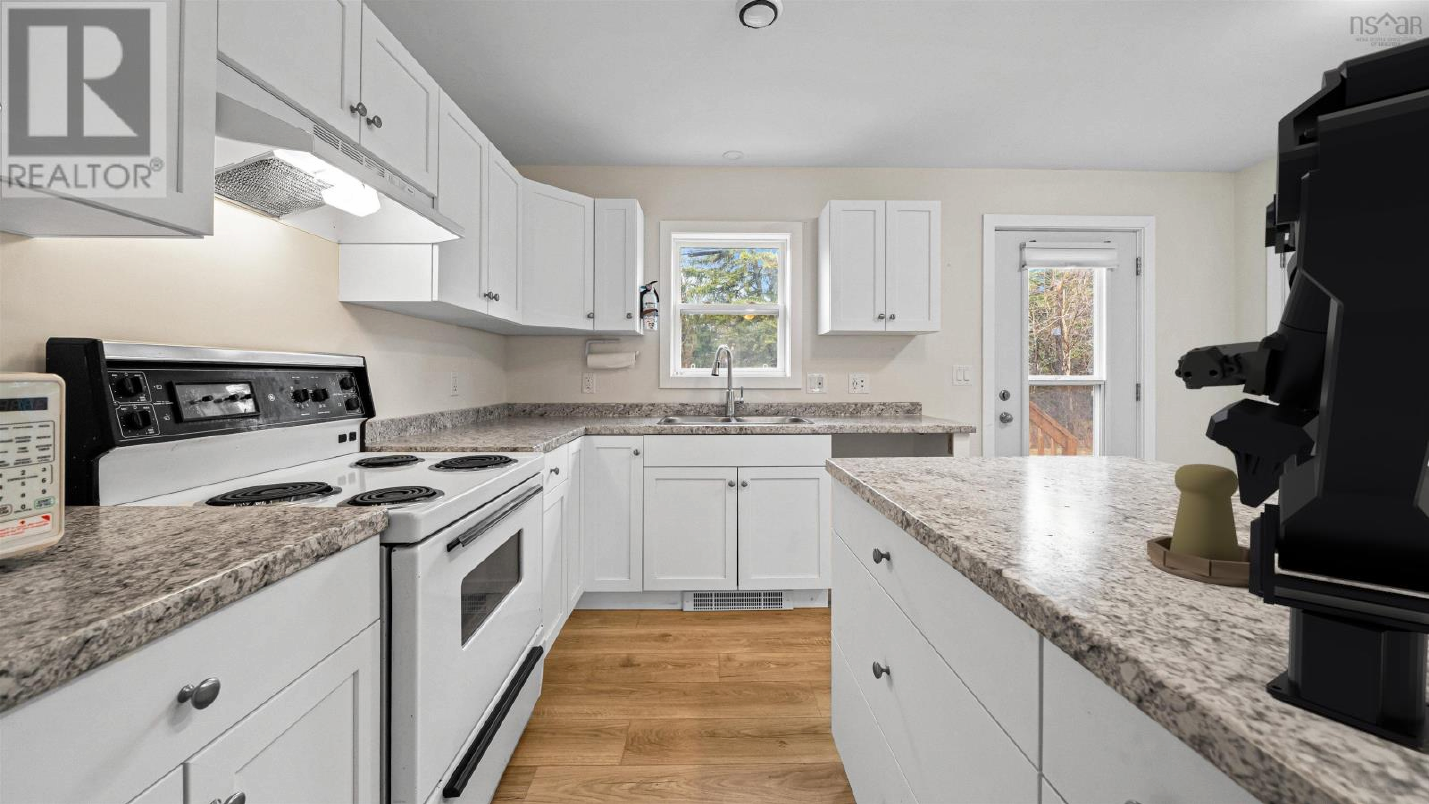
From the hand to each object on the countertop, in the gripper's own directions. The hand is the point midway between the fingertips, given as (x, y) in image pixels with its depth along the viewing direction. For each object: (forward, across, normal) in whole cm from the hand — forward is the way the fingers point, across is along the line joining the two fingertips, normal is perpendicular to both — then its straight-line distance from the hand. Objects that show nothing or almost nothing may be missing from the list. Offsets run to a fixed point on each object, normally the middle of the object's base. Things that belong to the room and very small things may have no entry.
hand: (1270, 487), depth 49 cm
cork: (+14, -4, -4) cm, 15 cm away
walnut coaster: (+14, -4, -3) cm, 15 cm away
